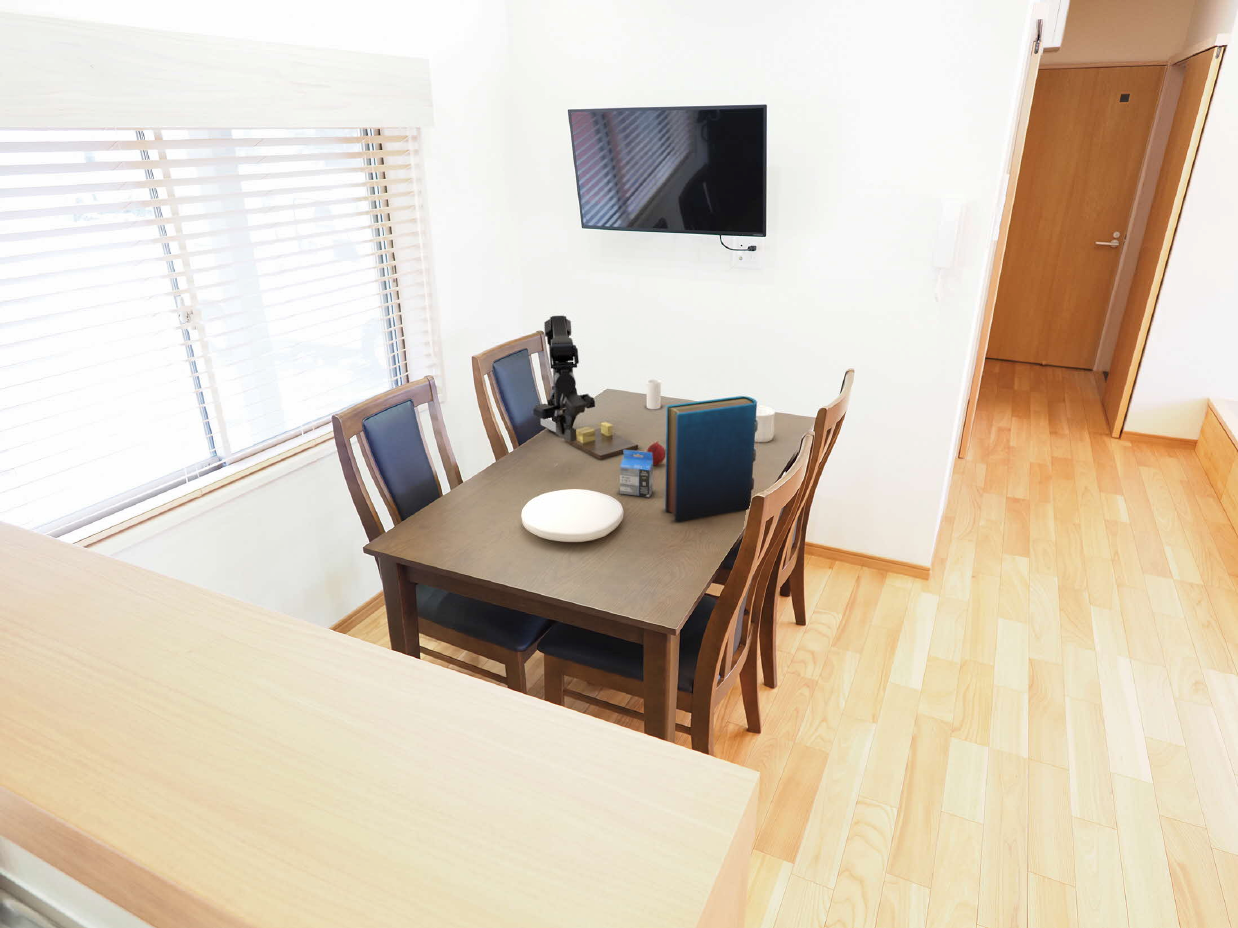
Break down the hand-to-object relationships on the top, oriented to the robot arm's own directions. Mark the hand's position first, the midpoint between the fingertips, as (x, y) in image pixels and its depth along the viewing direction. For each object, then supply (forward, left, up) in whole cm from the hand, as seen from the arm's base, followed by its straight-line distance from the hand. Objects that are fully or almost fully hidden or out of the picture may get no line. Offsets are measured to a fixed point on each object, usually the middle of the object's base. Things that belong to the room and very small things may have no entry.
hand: (565, 433), depth 237 cm
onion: (+15, +23, -12) cm, 30 cm away
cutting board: (-9, +19, -11) cm, 24 cm away
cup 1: (-28, +57, -12) cm, 64 cm away
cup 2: (+18, +65, -12) cm, 68 cm away
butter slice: (-13, +24, -10) cm, 29 cm away
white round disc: (+32, -19, -12) cm, 39 cm away
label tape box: (+27, +6, -12) cm, 30 cm away
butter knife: (-4, 0, -1) cm, 4 cm away
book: (+47, +16, -12) cm, 51 cm away
